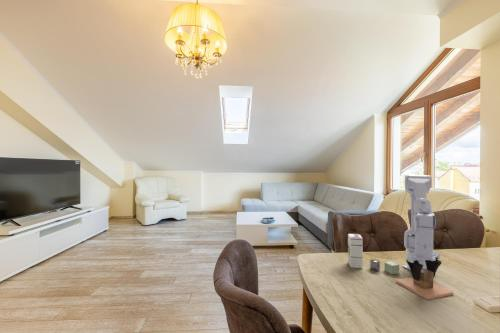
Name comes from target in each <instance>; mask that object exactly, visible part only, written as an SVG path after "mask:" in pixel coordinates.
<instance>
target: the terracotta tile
mask: <svg viewBox="0 0 500 333" xmlns="http://www.w3.org/2000/svg"><path fill="white" fill-rule="evenodd" d="M395 283H396V284H398V285H399V286H402V287H404V288H405V289H407V290H409V291H411V292H413V293H414V294H415V295H418V296H420V297H422V298H424V299H426V300H427V301H429V300H433V299H439V298H442V297H449V296H454V291H452V290H450V289H449V288H446V287H444V286H441V285H439V284H438V283H435V282H433V288H429V289H423V288H421V287H419V286H417V285H415V284H413V276H412V277H405V278H400V279H395Z"/></svg>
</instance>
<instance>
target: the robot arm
mask: <svg viewBox="0 0 500 333" xmlns="http://www.w3.org/2000/svg"><path fill="white" fill-rule="evenodd" d="M431 187H432V176H431V175H430V174H428V175H427V174H408V173H407V174H405V176H404V190H405V192H406V193H407V194H409V195H410V196H409V197H410V210H411V211H410V219H411V220H410V222H411V223H410V224H411V225H410V228H408V229H407V230H405V231H404V235H403V236H404V237H403V244H404V245H403V246H404V248H405V249H407V256H406V259H405V261H406V264H405V265H402V268H405V269H407V270H409V271H410V273H411V275H412V277H413V279H415V280H417V281H419V280H420V273H421V269H422V268H425V269H427V270H429V271H432V272H434V274H433V279H434V278H435V276H436V274H437V271H438V270H439V268H440V266H441V265H442V260H440V259H441V255H440V254H439V253H437V252H434V230H435V229H436V226H437V220H436V214H434V211H433V210H432V205H431V201H430V200H428V199H427V194H428V193H429V192H430V191H431Z"/></svg>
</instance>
